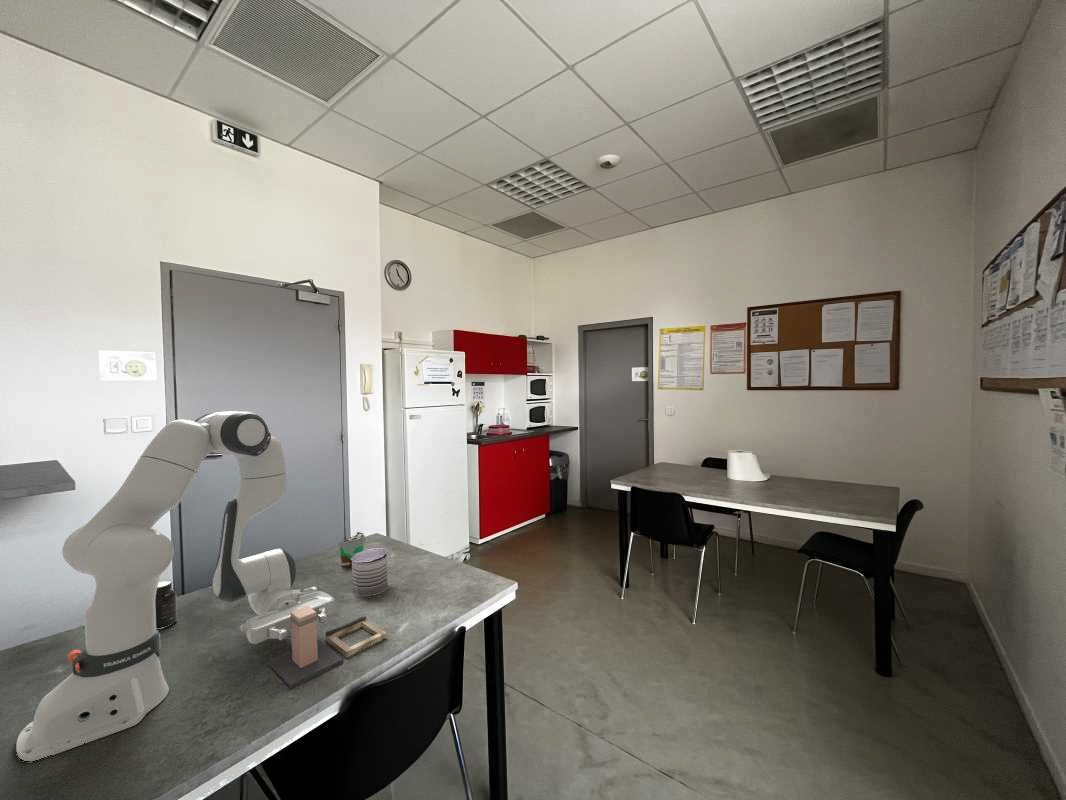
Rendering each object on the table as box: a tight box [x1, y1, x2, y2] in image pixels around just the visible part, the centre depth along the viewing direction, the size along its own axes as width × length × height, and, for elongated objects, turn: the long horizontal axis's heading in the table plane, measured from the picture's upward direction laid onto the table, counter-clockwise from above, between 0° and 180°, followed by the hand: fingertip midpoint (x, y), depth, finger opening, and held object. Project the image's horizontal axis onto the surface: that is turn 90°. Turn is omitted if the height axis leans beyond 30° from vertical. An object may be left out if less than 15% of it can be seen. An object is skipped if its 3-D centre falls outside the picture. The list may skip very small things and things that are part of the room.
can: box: [351, 547, 389, 597], centre depth 149 cm, size 11×11×12 cm
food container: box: [338, 531, 366, 568], centre depth 171 cm, size 12×6×10 cm, turn 168°
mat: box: [267, 638, 344, 689], centre depth 109 cm, size 12×14×1 cm
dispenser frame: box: [324, 615, 388, 658], centre depth 119 cm, size 11×12×2 cm
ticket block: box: [290, 606, 318, 668], centre depth 109 cm, size 4×5×12 cm
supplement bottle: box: [155, 580, 178, 628], centre depth 128 cm, size 7×7×12 cm
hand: (304, 627), depth 108 cm, fingers open, 8 cm apart
